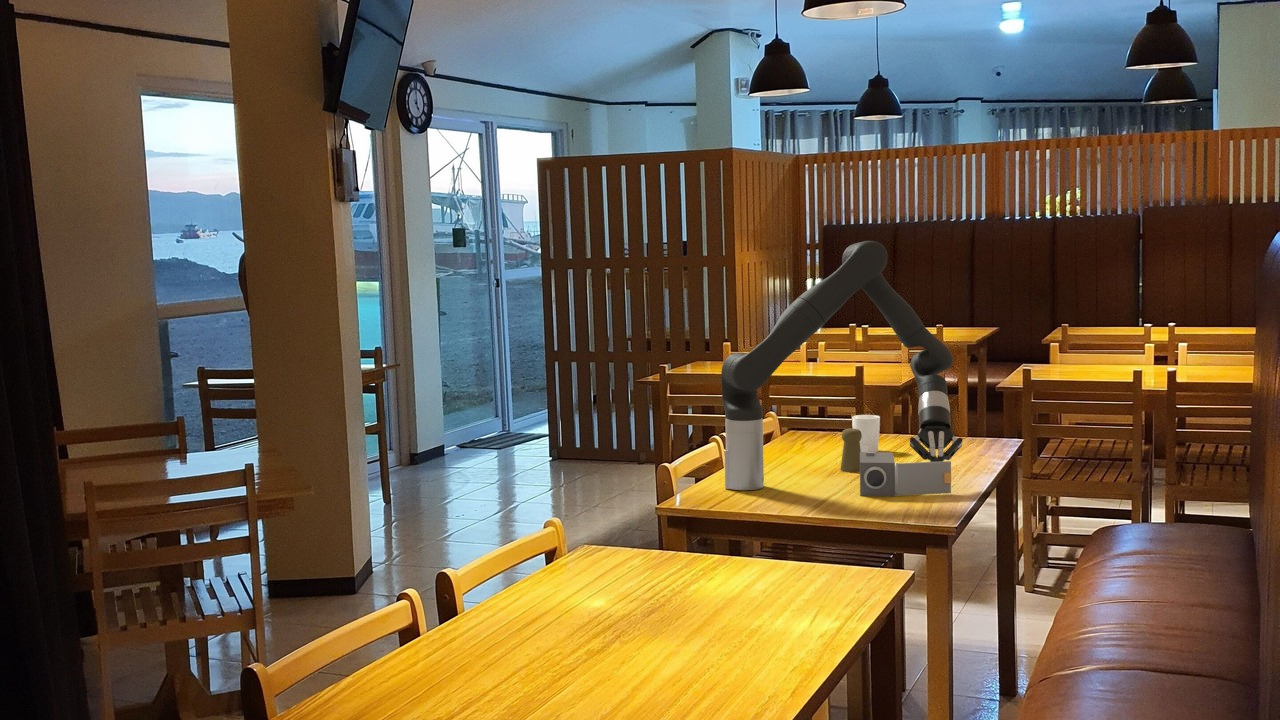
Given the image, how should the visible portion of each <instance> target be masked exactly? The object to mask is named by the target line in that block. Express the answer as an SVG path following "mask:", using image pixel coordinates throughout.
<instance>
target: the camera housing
mask: <svg viewBox="0 0 1280 720" xmlns="http://www.w3.org/2000/svg"><path fill="white" fill-rule="evenodd" d="M895 463H896V462H895V456H894V453H893V452H888V451H887V452H885V451H884V452H880V451H878V452H860V472H859V494H860V495H859V496H860V497H896V495H895Z"/></svg>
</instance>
